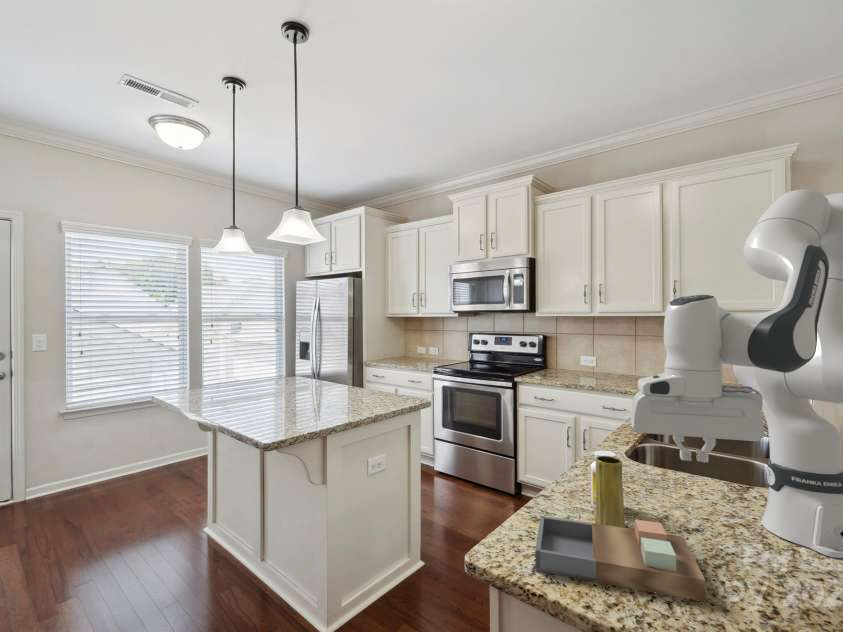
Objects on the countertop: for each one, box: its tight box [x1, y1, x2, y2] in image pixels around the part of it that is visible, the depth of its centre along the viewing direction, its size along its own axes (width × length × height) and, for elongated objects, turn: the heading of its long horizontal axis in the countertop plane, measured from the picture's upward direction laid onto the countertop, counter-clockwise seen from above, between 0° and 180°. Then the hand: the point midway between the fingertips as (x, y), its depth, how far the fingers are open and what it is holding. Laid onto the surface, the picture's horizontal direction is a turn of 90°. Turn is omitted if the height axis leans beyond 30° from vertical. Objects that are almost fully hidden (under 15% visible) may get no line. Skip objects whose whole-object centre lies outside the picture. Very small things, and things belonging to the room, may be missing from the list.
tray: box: [534, 515, 597, 583], centre depth 79 cm, size 10×14×4 cm
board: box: [591, 522, 707, 603], centre depth 74 cm, size 16×14×4 cm
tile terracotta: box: [634, 519, 667, 545], centre depth 77 cm, size 4×4×2 cm
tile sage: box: [641, 538, 676, 571], centre depth 70 cm, size 4×4×2 cm
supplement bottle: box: [590, 450, 617, 509], centre depth 98 cm, size 7×7×13 cm
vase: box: [594, 456, 626, 528], centre depth 90 cm, size 6×6×14 cm
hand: (693, 460), depth 75 cm, fingers closed
